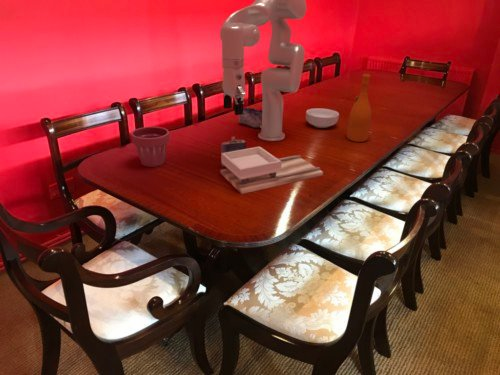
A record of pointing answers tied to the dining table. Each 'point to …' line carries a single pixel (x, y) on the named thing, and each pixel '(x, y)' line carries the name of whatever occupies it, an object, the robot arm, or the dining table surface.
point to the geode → (251, 117)
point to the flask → (233, 146)
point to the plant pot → (151, 145)
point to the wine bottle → (360, 114)
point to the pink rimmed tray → (251, 163)
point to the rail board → (290, 172)
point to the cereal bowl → (322, 117)
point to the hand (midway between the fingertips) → (233, 111)
